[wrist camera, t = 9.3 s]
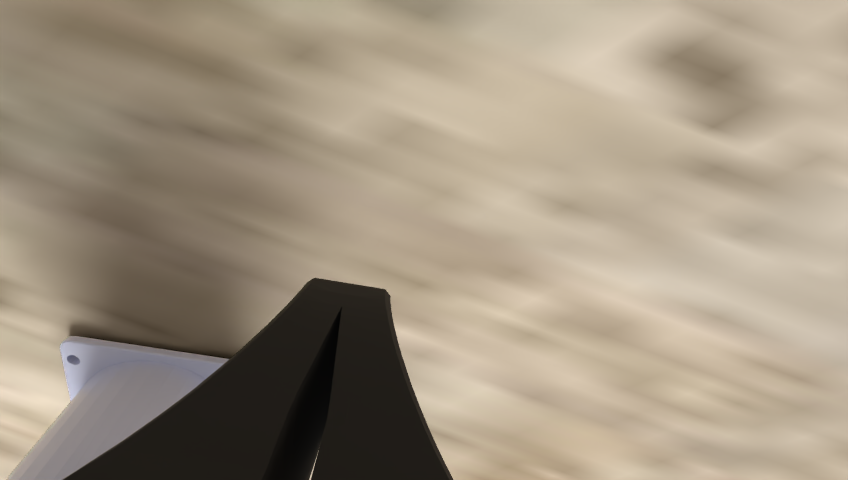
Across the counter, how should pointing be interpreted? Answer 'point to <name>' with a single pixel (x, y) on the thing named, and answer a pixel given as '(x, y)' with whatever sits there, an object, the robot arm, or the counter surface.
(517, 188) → the counter surface
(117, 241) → the counter surface
